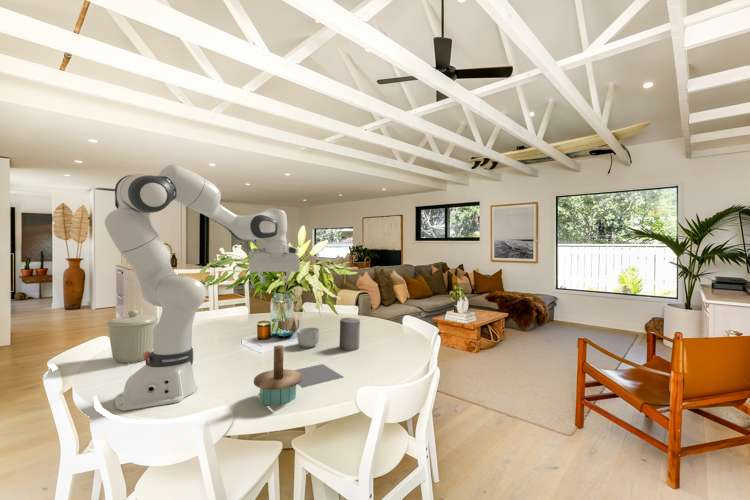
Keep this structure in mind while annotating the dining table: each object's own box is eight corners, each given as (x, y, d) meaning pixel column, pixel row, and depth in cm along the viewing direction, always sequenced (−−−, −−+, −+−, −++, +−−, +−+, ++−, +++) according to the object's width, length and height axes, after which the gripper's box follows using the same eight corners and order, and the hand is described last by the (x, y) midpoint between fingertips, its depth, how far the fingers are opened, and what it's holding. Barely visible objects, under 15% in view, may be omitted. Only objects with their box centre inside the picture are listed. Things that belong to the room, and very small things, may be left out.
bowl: (267, 409, 106) (267, 389, 106) (255, 396, 115) (255, 378, 115) (301, 400, 113) (301, 381, 113) (287, 388, 122) (287, 371, 121)
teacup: (314, 349, 166) (314, 333, 166) (293, 348, 168) (293, 331, 168) (324, 341, 180) (324, 326, 180) (304, 340, 182) (304, 324, 182)
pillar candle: (335, 346, 171) (336, 316, 171) (352, 343, 177) (352, 314, 177) (346, 352, 164) (347, 320, 163) (363, 348, 170) (364, 317, 169)
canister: (152, 364, 143) (152, 312, 143) (98, 369, 137) (98, 315, 136) (162, 351, 160) (162, 305, 160) (115, 354, 154) (115, 306, 153)
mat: (302, 388, 121) (302, 387, 121) (283, 373, 135) (283, 372, 135) (344, 378, 132) (344, 377, 132) (322, 365, 145) (322, 364, 145)
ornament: (299, 339, 183) (299, 310, 182) (269, 340, 180) (269, 311, 179) (299, 332, 197) (299, 305, 197) (271, 333, 194) (271, 306, 194)
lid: (251, 391, 105) (251, 355, 104) (256, 373, 119) (256, 341, 119) (302, 387, 108) (303, 352, 108) (301, 370, 123) (301, 339, 123)
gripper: (251, 247, 134) (250, 284, 134) (301, 249, 146) (301, 282, 145) (246, 248, 139) (245, 283, 139) (295, 249, 151) (295, 281, 150)
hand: (274, 283), depth 142 cm, fingers open, 8 cm apart
